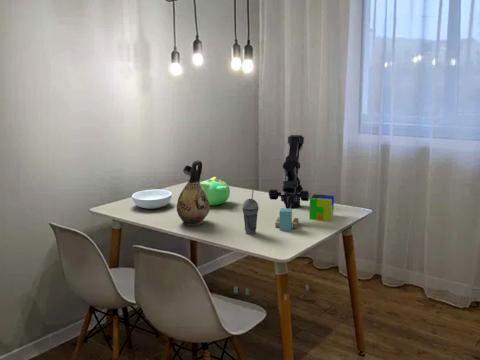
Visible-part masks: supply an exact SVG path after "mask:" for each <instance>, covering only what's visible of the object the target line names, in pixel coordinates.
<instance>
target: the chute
mask: <svg viewBox="0 0 480 360" xmlns="http://www.w3.org/2000/svg"><path fill="white" fill-rule="evenodd" d="M298 225H299V217H294V218H293V219H292V228H291V229H293V228H298ZM275 228H279V229H280V216H278V217H277V218H276V221H275Z"/></svg>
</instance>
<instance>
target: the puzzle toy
mask: <svg viewBox="0 0 480 360" xmlns="http://www.w3.org/2000/svg"><path fill="white" fill-rule="evenodd" d="M334 202H335V196H334V195H327V194H316V193H315V194H313V195H312V196H311V197H310V198H309V220H313V219H318V220H317V221H324V220H330V221H332V219H331V218H333V217H334V208H335V207H334V205H335V203H334ZM332 216H333V217H332Z"/></svg>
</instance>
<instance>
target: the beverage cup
mask: <svg viewBox="0 0 480 360" xmlns="http://www.w3.org/2000/svg"><path fill="white" fill-rule="evenodd" d="M251 191H252V192H251V197H250V198H249V199H246V200H245V201H244V202H243V204H242V207H241V208H242V214H243V220H244V221H243V222H244V231H245V234H246V235H249V236H250V235H252V236H253V235H256V233H257V224H258V223H257V222H258V213H259V209H260V208H259V203H258V202H257V201H256V200H255V199H254V191H255V190H254V188H253V189H252V190H251Z"/></svg>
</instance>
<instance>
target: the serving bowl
mask: <svg viewBox="0 0 480 360" xmlns="http://www.w3.org/2000/svg"><path fill="white" fill-rule="evenodd" d="M172 194H173V193H172V192H171V191H169V190H166V189H145V190H139V191H136V192H134V193H133V194H132V195H131V197H132V201H133V203H134V204H135V205H136V206H137V207H139V208H142V209H149V210H151V209H152V210H154V209H159V208H162V207H165V206H167V205H168V204H169V203H170V202H171V199H172Z"/></svg>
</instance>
